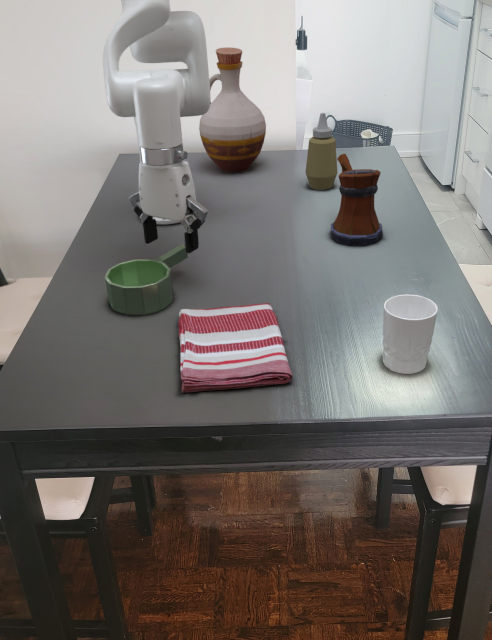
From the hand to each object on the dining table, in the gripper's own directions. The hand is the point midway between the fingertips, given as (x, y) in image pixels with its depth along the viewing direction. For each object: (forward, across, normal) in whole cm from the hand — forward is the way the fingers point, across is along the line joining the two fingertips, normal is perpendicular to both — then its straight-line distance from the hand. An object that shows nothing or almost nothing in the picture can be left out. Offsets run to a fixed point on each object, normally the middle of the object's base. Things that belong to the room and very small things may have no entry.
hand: (171, 245), depth 131 cm
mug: (+7, -20, -38) cm, 44 cm away
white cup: (+8, -50, +6) cm, 50 cm away
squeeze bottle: (+6, -1, -60) cm, 61 cm away
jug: (+6, +28, -63) cm, 69 cm away
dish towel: (+8, -24, +16) cm, 29 cm away
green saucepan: (+7, 0, +6) cm, 9 cm away
